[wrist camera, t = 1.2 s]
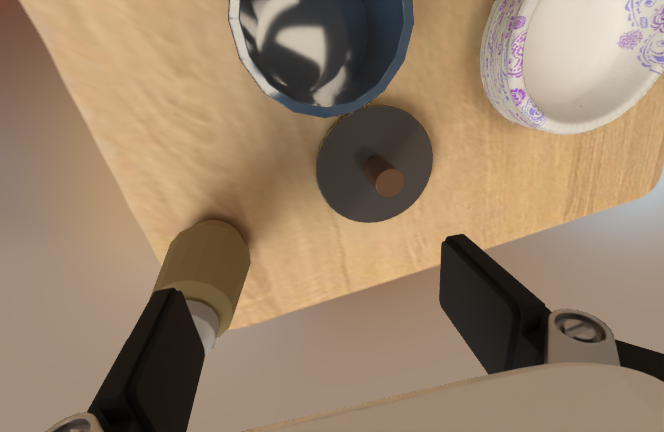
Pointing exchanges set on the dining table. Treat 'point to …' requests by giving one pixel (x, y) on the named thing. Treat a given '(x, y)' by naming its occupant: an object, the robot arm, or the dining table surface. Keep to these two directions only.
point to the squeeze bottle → (207, 275)
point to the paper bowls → (570, 60)
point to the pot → (322, 49)
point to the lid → (374, 163)
